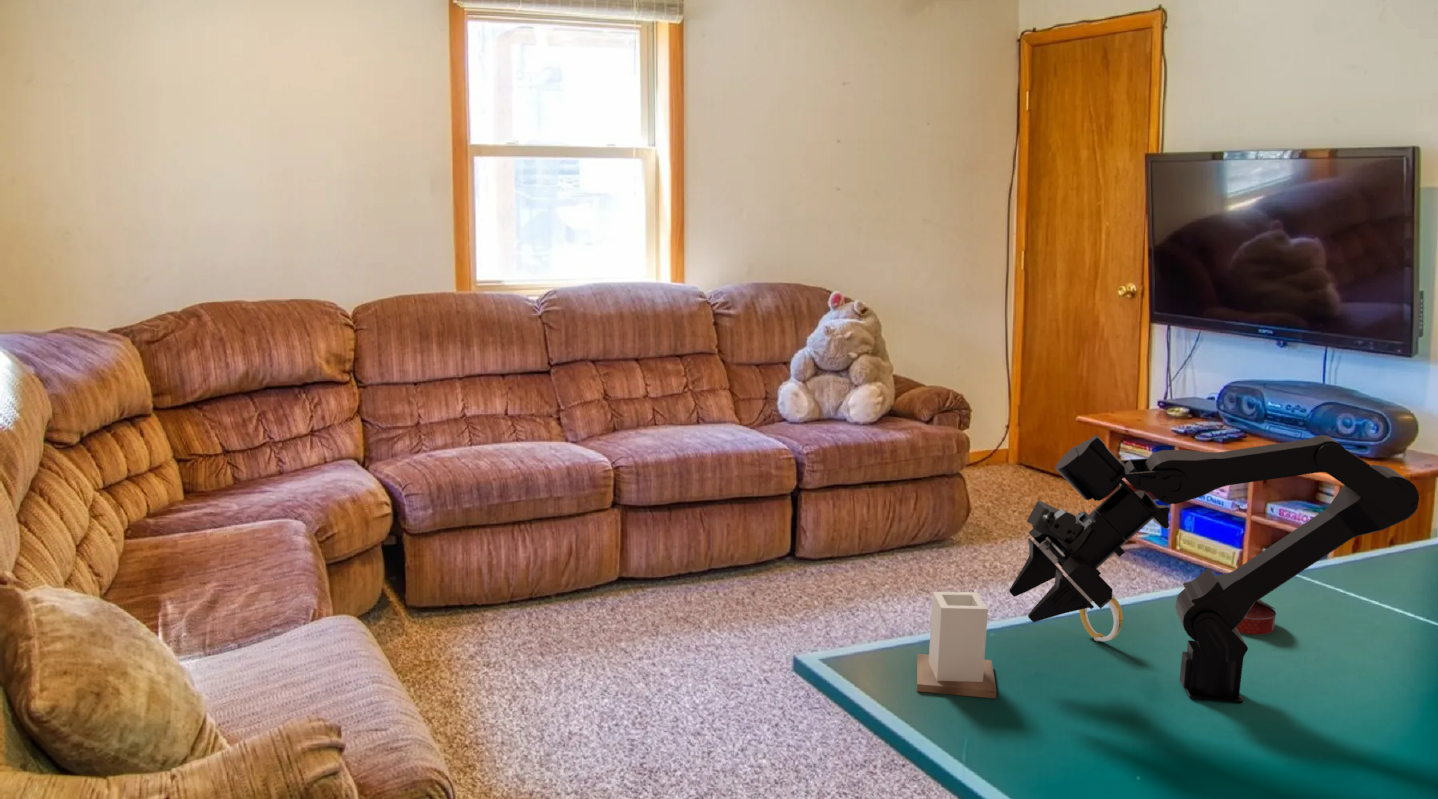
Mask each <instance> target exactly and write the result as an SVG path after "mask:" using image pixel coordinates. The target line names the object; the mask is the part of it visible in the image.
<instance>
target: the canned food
mask: <svg viewBox="0 0 1438 799" xmlns="http://www.w3.org/2000/svg"><path fill="white" fill-rule="evenodd" d="M1276 615H1277V612H1276V608H1275V607H1273V606H1271V605H1270V604H1268V603H1267V602H1265V601H1263V600H1262V599H1259V600H1258V601H1257V602H1256V603H1255V604H1254V605H1253V606H1252V608H1251V609H1250V611H1249V612H1248V613H1247V615H1246V616H1245V618H1244V619H1243V621H1242V622H1241V623H1240V624H1239V625H1238V626H1237V627H1236V628H1237V629H1238V631H1239V633H1240V634H1246V635H1254V636H1255V635H1267V634H1270V633H1272V632H1274V631H1275V624H1276Z"/></svg>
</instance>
